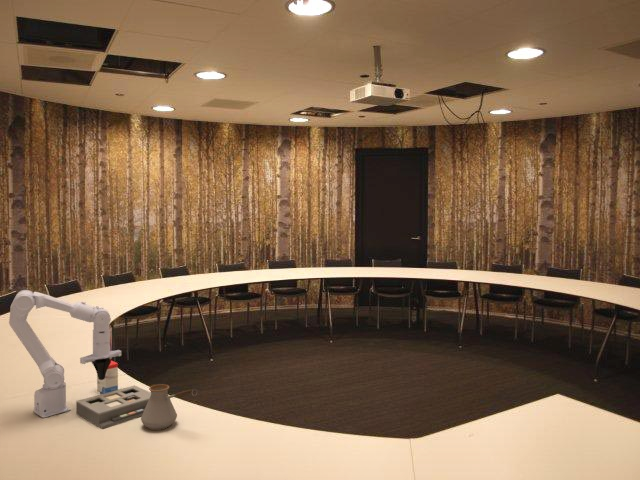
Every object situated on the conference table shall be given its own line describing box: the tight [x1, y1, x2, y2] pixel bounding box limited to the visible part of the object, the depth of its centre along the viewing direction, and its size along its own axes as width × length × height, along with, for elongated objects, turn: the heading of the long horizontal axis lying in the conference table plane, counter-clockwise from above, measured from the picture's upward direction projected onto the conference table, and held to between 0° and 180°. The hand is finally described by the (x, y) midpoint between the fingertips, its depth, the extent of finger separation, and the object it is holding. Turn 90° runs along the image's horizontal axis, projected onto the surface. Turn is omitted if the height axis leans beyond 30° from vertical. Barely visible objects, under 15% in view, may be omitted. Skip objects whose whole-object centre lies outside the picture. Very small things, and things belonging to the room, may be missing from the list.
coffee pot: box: [140, 383, 198, 431], centre depth 167 cm, size 21×12×15 cm, turn 62°
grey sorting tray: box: [75, 384, 151, 430], centre depth 180 cm, size 22×18×4 cm
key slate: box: [121, 392, 139, 401], centre depth 188 cm, size 4×4×2 cm
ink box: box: [96, 360, 119, 394], centre depth 199 cm, size 8×5×15 cm, turn 47°
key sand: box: [106, 395, 121, 404], centre depth 182 cm, size 4×4×2 cm
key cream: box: [106, 401, 121, 407], centre depth 176 cm, size 4×4×2 cm
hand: (101, 379), depth 186 cm, fingers closed
